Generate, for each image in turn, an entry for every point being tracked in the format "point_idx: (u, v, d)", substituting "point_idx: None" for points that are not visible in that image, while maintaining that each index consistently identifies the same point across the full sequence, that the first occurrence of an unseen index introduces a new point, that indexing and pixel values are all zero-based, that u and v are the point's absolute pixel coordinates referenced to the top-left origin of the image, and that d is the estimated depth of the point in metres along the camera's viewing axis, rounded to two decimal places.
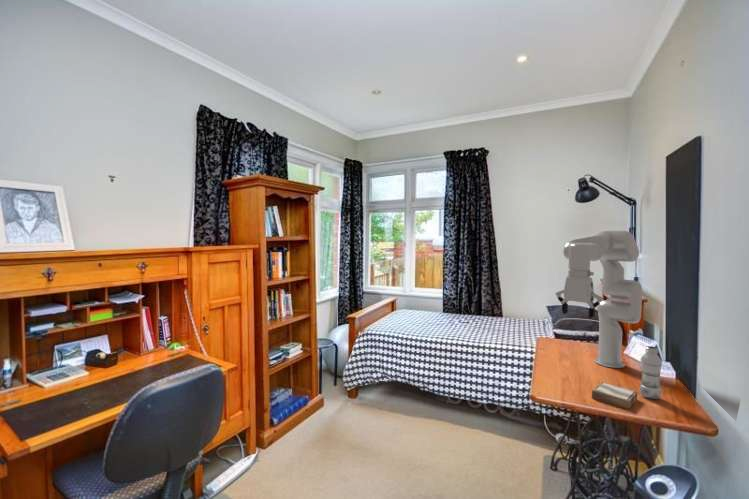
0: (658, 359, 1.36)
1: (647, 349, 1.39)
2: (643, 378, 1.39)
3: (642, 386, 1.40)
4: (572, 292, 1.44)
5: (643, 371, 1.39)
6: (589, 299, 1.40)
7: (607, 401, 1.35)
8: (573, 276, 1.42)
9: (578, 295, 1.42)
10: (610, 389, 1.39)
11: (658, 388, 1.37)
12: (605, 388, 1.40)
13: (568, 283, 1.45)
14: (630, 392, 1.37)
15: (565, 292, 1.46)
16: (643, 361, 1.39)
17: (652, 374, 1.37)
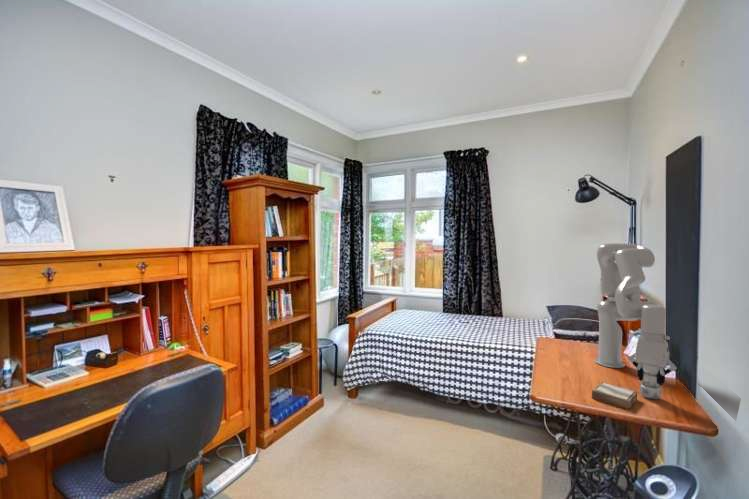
0: None
1: None
2: (643, 378, 1.39)
3: (642, 386, 1.40)
4: (645, 356, 1.38)
5: (643, 371, 1.39)
6: (665, 365, 1.34)
7: (607, 401, 1.35)
8: (647, 340, 1.37)
9: None
10: (610, 389, 1.39)
11: (658, 388, 1.37)
12: (605, 388, 1.40)
13: (641, 345, 1.39)
14: (630, 392, 1.37)
15: (637, 354, 1.40)
16: (643, 361, 1.39)
17: (652, 374, 1.37)
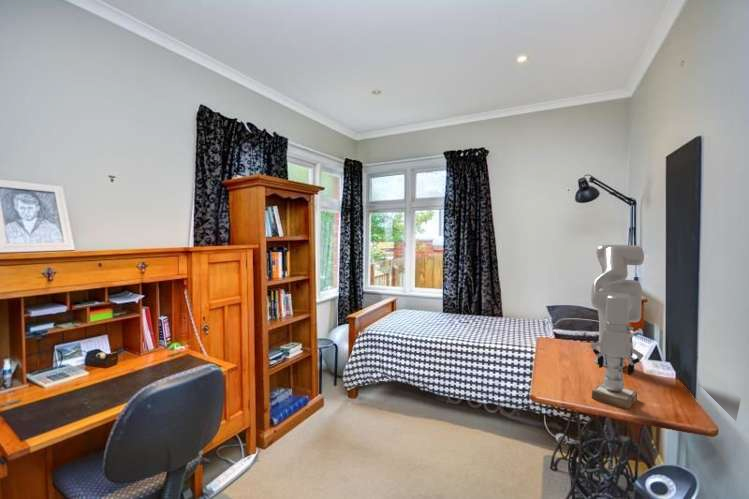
0: None
1: None
2: (606, 371, 1.39)
3: (605, 379, 1.39)
4: (609, 346, 1.37)
5: (606, 364, 1.38)
6: (628, 355, 1.33)
7: (607, 401, 1.35)
8: (611, 330, 1.35)
9: (616, 350, 1.35)
10: None
11: (621, 380, 1.36)
12: (605, 388, 1.40)
13: (605, 336, 1.38)
14: (630, 392, 1.37)
15: (601, 345, 1.39)
16: (607, 354, 1.38)
17: (615, 366, 1.36)
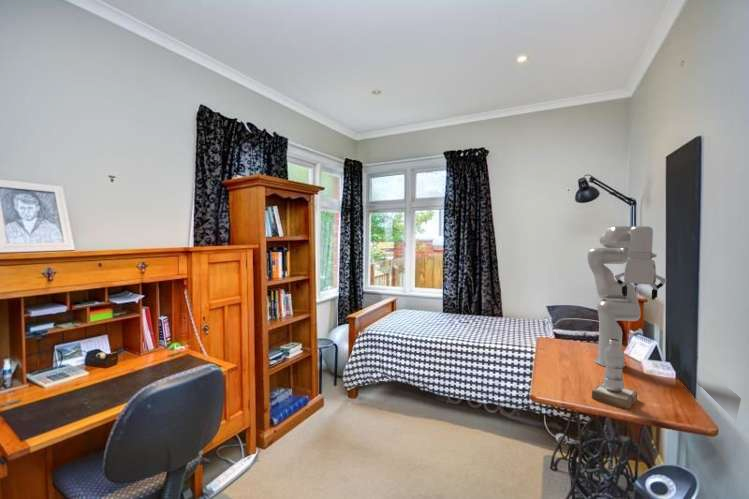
0: (620, 351, 1.35)
1: (610, 341, 1.38)
2: (606, 371, 1.39)
3: (605, 379, 1.39)
4: (633, 274, 1.45)
5: (606, 364, 1.38)
6: (652, 281, 1.41)
7: (607, 401, 1.35)
8: (635, 258, 1.44)
9: (640, 277, 1.44)
10: None
11: (621, 380, 1.36)
12: (605, 388, 1.40)
13: (630, 265, 1.46)
14: (630, 392, 1.37)
15: (626, 274, 1.48)
16: (606, 354, 1.38)
17: (615, 366, 1.36)
